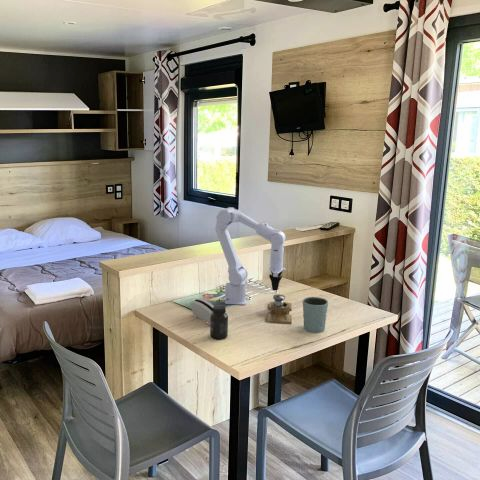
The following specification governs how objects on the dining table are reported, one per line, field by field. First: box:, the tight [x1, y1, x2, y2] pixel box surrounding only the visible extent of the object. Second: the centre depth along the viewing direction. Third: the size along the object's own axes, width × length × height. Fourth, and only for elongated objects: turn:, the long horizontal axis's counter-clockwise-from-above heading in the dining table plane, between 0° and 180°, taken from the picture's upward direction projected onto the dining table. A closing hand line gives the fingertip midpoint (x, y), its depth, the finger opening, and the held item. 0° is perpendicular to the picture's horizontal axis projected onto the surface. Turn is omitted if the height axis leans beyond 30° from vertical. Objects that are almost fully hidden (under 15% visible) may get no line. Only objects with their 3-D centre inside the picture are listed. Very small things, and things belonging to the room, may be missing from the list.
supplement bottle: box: [209, 304, 229, 341], centre depth 188 cm, size 7×7×12 cm
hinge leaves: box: [267, 301, 293, 324], centre depth 215 cm, size 10×23×4 cm, turn 174°
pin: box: [272, 293, 286, 307], centre depth 215 cm, size 5×5×8 cm
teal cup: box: [302, 296, 329, 334], centre depth 198 cm, size 10×10×12 cm
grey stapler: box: [190, 298, 215, 325], centre depth 205 cm, size 17×5×10 cm, turn 39°
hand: (275, 287), depth 221 cm, fingers open, 7 cm apart
